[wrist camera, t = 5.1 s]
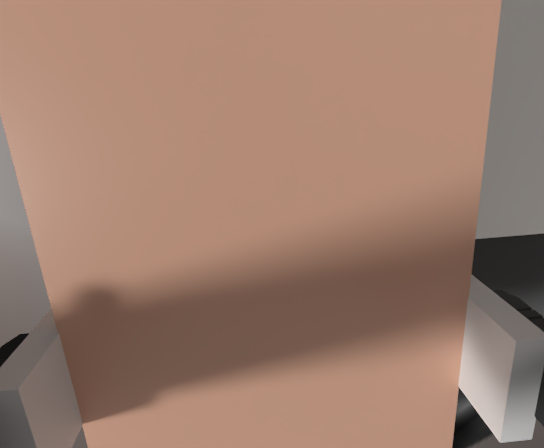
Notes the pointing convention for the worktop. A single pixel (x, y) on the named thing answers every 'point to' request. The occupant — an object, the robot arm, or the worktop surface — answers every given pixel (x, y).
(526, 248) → the worktop surface
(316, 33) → the peach flat tile
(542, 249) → the worktop surface
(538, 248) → the worktop surface
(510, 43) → the grey mat
